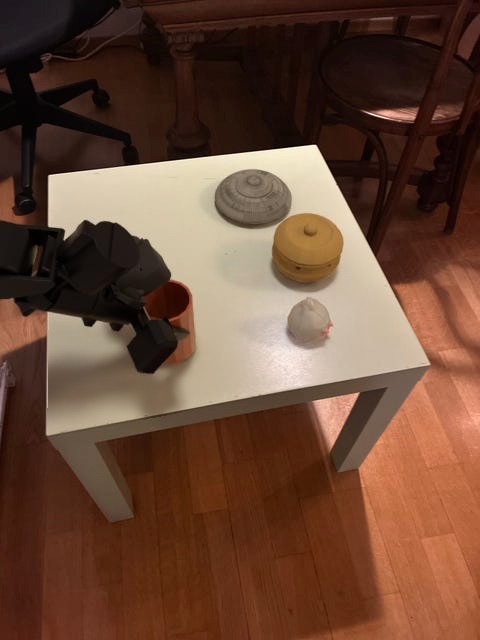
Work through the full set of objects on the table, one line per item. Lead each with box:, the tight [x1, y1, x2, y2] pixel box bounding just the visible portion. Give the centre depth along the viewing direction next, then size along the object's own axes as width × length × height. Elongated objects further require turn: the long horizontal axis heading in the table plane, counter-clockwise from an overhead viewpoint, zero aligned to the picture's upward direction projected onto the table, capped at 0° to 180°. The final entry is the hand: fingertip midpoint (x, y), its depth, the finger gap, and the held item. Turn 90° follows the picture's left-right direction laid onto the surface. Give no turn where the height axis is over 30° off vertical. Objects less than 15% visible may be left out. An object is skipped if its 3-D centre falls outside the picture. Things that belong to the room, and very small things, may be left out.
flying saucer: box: [214, 168, 293, 225], centre depth 93 cm, size 15×15×6 cm
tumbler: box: [144, 278, 197, 365], centre depth 70 cm, size 7×7×11 cm
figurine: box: [287, 296, 334, 342], centre depth 74 cm, size 6×7×8 cm
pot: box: [271, 212, 345, 284], centre depth 82 cm, size 12×12×10 cm
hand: (177, 315), depth 69 cm, fingers closed on tumbler, 7 cm apart
